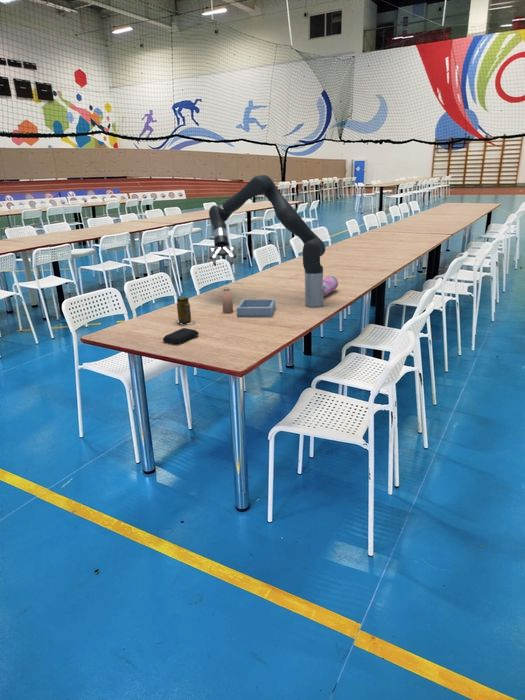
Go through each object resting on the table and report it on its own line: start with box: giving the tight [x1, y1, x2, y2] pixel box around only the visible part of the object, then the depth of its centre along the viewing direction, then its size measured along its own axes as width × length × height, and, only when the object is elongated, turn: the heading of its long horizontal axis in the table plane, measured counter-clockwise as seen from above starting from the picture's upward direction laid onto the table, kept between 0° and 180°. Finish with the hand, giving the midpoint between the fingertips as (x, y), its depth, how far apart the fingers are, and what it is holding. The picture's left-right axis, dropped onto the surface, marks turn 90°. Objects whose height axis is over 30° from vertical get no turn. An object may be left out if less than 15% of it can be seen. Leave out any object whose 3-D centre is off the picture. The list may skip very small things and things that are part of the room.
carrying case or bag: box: [162, 327, 199, 345], centre depth 207 cm, size 11×3×15 cm
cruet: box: [220, 286, 234, 314], centre depth 241 cm, size 5×5×12 cm
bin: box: [236, 298, 277, 318], centre depth 239 cm, size 17×16×4 cm
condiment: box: [175, 296, 196, 326], centre depth 227 cm, size 7×8×12 cm
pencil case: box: [323, 275, 339, 298], centre depth 265 cm, size 21×9×9 cm, turn 148°
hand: (223, 264), depth 246 cm, fingers open, 8 cm apart
